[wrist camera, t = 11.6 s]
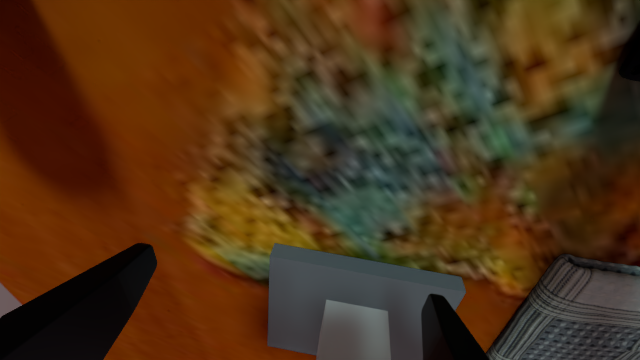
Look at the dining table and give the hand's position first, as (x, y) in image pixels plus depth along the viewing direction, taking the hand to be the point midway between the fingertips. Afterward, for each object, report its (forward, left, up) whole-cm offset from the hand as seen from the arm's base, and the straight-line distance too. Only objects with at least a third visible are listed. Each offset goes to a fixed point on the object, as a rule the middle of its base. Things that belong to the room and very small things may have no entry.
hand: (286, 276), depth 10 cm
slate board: (-5, +18, -12) cm, 22 cm away
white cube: (-5, +18, -10) cm, 21 cm away
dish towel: (-28, +15, -13) cm, 34 cm away
